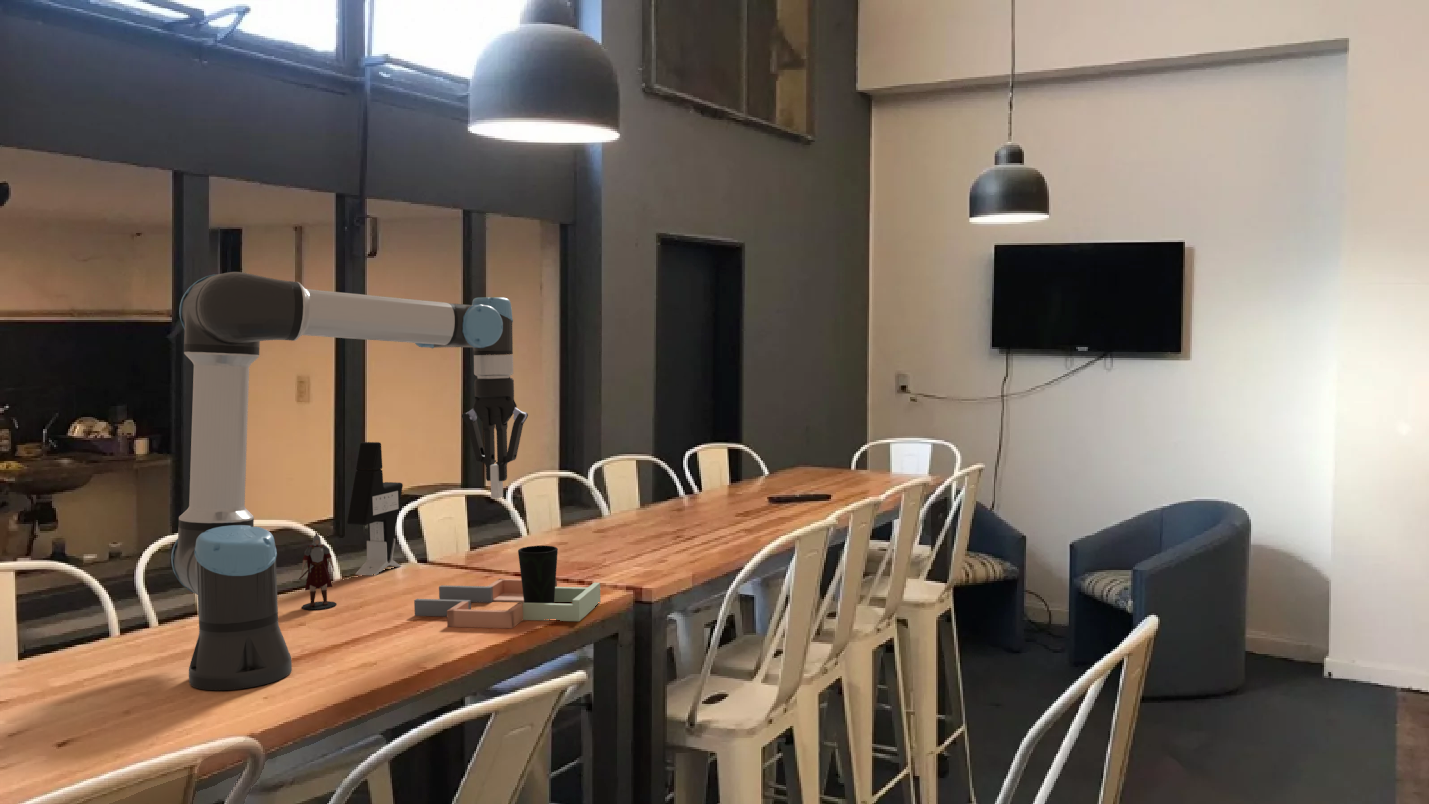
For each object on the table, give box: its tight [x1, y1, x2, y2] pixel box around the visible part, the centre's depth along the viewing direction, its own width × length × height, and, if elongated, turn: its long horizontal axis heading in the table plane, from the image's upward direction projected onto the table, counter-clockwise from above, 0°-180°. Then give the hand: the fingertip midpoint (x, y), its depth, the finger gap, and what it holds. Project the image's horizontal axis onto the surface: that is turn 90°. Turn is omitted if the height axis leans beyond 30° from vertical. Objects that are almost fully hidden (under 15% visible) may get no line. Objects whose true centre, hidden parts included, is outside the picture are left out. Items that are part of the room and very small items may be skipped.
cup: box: [517, 545, 559, 603], centre depth 221 cm, size 8×8×12 cm
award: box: [346, 441, 404, 577], centre depth 260 cm, size 15×5×30 cm, turn 161°
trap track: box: [413, 578, 601, 629], centre depth 221 cm, size 33×28×4 cm
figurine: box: [298, 532, 337, 611], centre depth 227 cm, size 7×7×15 cm
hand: (497, 497), depth 220 cm, fingers closed
